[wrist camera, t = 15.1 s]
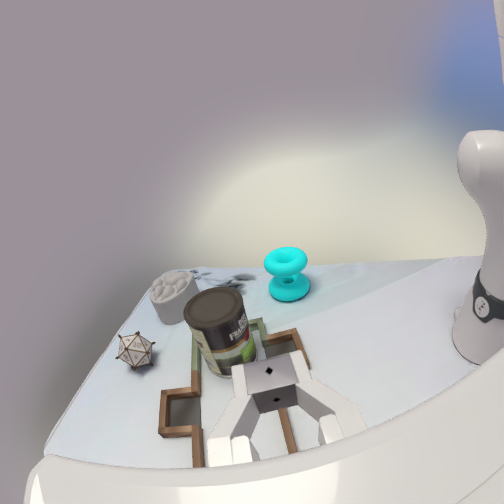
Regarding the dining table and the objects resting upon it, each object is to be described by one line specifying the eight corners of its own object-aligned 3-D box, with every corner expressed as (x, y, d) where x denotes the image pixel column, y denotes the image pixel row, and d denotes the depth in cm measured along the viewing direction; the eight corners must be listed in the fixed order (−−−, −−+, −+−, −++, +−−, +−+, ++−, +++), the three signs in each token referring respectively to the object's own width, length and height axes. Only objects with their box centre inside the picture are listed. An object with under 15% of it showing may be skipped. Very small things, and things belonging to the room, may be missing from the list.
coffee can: (264, 342, 53) (251, 288, 46) (246, 383, 45) (226, 331, 38) (220, 335, 57) (200, 284, 50) (198, 371, 49) (171, 321, 42)
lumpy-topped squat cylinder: (205, 293, 72) (195, 266, 68) (185, 327, 61) (172, 299, 57) (173, 292, 75) (162, 266, 71) (151, 323, 64) (137, 296, 60)
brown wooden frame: (290, 317, 58) (289, 310, 57) (344, 466, 27) (346, 463, 26) (170, 343, 57) (167, 337, 56) (162, 493, 26) (156, 490, 25)
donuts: (258, 268, 59) (267, 245, 67) (265, 303, 64) (273, 278, 72) (304, 267, 56) (308, 243, 64) (308, 303, 60) (311, 277, 69)
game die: (155, 366, 56) (163, 329, 55) (146, 385, 48) (154, 346, 47) (120, 353, 55) (126, 316, 54) (107, 370, 46) (111, 331, 46)
